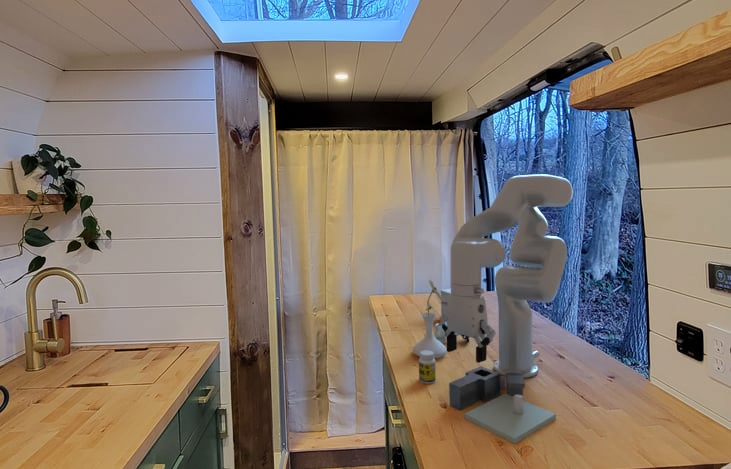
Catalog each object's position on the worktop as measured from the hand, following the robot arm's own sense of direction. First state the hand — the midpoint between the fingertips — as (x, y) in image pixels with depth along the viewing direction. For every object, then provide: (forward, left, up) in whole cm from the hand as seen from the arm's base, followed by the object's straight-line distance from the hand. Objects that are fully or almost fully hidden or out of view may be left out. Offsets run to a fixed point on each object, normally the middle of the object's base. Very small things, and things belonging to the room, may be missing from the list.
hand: (465, 355), depth 113 cm
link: (-5, 0, -12) cm, 13 cm away
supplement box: (-51, -51, -13) cm, 73 cm away
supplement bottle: (-2, -16, -13) cm, 21 cm away
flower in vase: (-17, -30, -13) cm, 37 cm away
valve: (-30, -33, -13) cm, 47 cm away
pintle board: (-4, +11, -12) cm, 17 cm away
